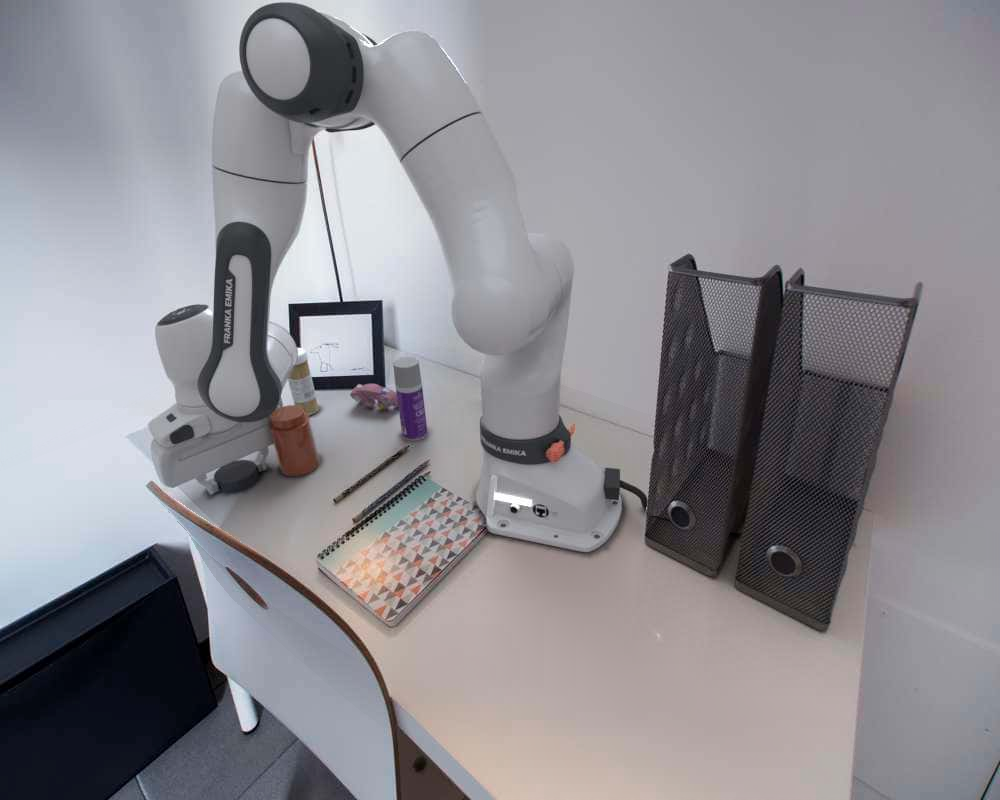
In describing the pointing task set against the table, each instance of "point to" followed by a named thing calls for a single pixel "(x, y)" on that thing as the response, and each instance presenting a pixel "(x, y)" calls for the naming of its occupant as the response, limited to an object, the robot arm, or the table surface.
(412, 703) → the table surface
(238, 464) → the lid
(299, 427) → the jar
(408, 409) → the container
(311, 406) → the sprinkles bottle
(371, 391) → the pink toy animal
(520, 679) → the table surface
